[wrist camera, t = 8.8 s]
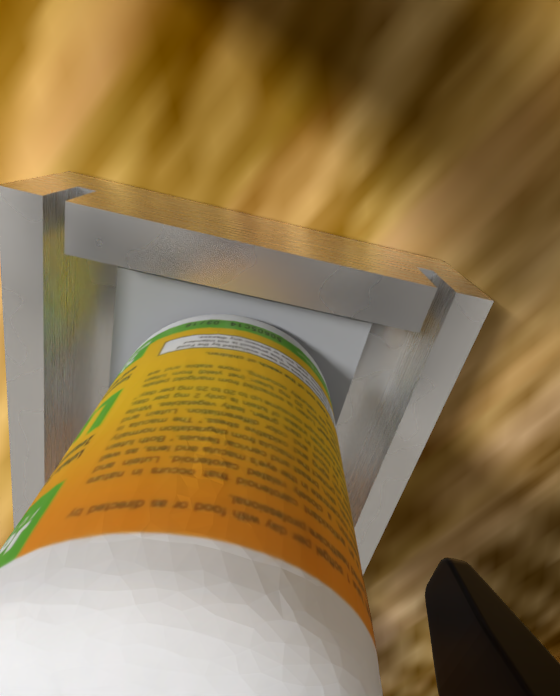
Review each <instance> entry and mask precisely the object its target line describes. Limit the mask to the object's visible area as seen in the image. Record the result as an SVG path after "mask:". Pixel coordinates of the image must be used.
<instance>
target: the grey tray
mask: <svg viewBox="0 0 560 696" xmlns="http://www.w3.org/2000/svg"><path fill="white" fill-rule="evenodd" d="M0 261H1V281H2V300H3V320H4V340H5V360H6V379H7V399H8V419H9V438H10V458H11V478H12V498H13V517H14V529H15V528H16V526H17V525H18V523H19V522H20V520H21V519H22V517H23V516H24V514H25V513H26V511H27V510H28V508H29V507H30V506H31V504H32V503H33V501H34V500H35V498H36V497H37V495H38V494H39V492H40V491H41V489H42V488H43V486H44V485H45V483H46V482H47V480H48V479H49V478H50V476H51V475H52V473H53V472H54V470H55V469H56V467H57V466H58V465H59V463H60V462H61V460H62V458H63V457H64V455H65V454H66V452H67V451H68V449H69V448H70V446H71V445H72V443H73V442H74V440H75V439H76V437H77V436H78V434H79V433H80V431H81V430H82V428H83V427H84V425H85V424H86V423H87V421H88V420H89V418H90V417H91V415H92V414H93V412H94V411H95V409H96V408H97V406H98V405H99V403H100V402H101V400H102V399H103V397H104V395H105V394H106V393H107V391H108V390H109V388H110V386H111V385H112V383H113V382H114V380H115V379H116V377H117V376H118V374H119V373H120V371H121V370H122V368H123V367H124V365H125V364H126V362H127V361H128V360H129V358H130V357H131V356H132V355H133V353H134V352H135V351H136V350H137V349H138V348H139V346H140V345H141V344H142V343H144V342H145V341H146V340H147V339H148V338H149V337H150V336H152V335H153V334H154V333H156V332H158V331H159V330H161V329H162V328H164V327H166V326H168V325H170V324H172V323H175V322H177V321H180V320H183V319H187V318H191V317H196V316H202V315H210V314H229V315H237V316H244V317H248V318H252V319H255V320H258V321H261V322H264V323H266V324H269V325H271V326H273V327H275V328H277V329H279V330H281V331H282V332H284V333H286V334H287V335H289V336H290V337H292V338H293V339H294V340H296V341H297V342H298V343H299V344H300V345H301V346H302V347H303V348H304V349H305V350H306V351H307V352H308V353H309V354H310V356H311V357H312V358H313V360H314V361H315V362H316V364H317V366H318V367H319V369H320V371H321V373H322V375H323V377H324V379H325V382H326V385H327V388H328V391H329V395H330V399H331V403H332V408H333V413H334V419H335V424H336V430H337V437H338V442H339V448H340V453H341V458H342V464H343V470H344V475H345V481H346V486H347V491H348V497H349V503H350V508H351V514H352V519H353V525H354V530H355V535H356V541H357V546H358V552H359V557H360V563H361V569H362V574H364V572H365V570H366V568H367V566H368V564H369V562H370V560H371V558H372V555H373V553H374V551H375V549H376V547H377V545H378V543H379V541H380V539H381V537H382V535H383V532H384V530H385V528H386V526H387V524H388V522H389V520H390V518H391V516H392V514H393V511H394V509H395V507H396V505H397V503H398V501H399V499H400V497H401V495H402V493H403V491H404V488H405V486H406V484H407V482H408V480H409V478H410V476H411V474H412V472H413V470H414V468H415V465H416V463H417V461H418V459H419V457H420V455H421V453H422V451H423V449H424V447H425V444H426V442H427V440H428V438H429V436H430V434H431V432H432V430H433V428H434V426H435V424H436V421H437V419H438V417H439V415H440V413H441V411H442V409H443V407H444V405H445V403H446V401H447V398H448V396H449V394H450V392H451V390H452V388H453V386H454V384H455V382H456V380H457V377H458V375H459V373H460V371H461V369H462V367H463V365H464V363H465V361H466V359H467V357H468V354H469V352H470V350H471V348H472V346H473V344H474V342H475V340H476V338H477V336H478V334H479V331H480V329H481V327H482V325H483V323H484V321H485V319H486V317H487V315H488V313H489V310H490V308H491V306H492V304H493V302H494V301H493V300H492V299H491V298H489V297H488V296H487V295H486V294H484V293H483V292H482V291H481V290H479V289H478V288H477V287H476V286H474V285H473V284H472V283H471V282H469V281H468V280H467V279H466V278H464V277H463V276H462V275H461V274H459V273H458V272H457V271H456V270H454V269H453V268H452V267H451V266H450V265H448V264H447V263H446V262H445V261H441V260H437V259H433V258H428V257H424V256H420V255H416V254H412V253H408V252H403V251H399V250H395V249H391V248H387V247H383V246H378V245H374V244H370V243H366V242H362V241H358V240H353V239H349V238H345V237H341V236H337V235H333V234H329V233H324V232H320V231H316V230H312V229H308V228H304V227H299V226H295V225H291V224H287V223H283V222H279V221H274V220H270V219H266V218H262V217H258V216H254V215H249V214H245V213H241V212H237V211H233V210H229V209H224V208H220V207H216V206H212V205H208V204H204V203H199V202H195V201H191V200H187V199H183V198H179V197H174V196H170V195H166V194H162V193H158V192H154V191H149V190H145V189H141V188H137V187H133V186H129V185H124V184H120V183H116V182H112V181H108V180H104V179H99V178H95V177H91V176H87V175H83V174H79V173H75V172H70V171H69V172H64V173H58V174H53V175H47V176H42V177H37V178H31V179H26V180H21V181H15V182H10V183H5V184H0Z"/></svg>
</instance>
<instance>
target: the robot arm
mask: <svg viewBox="0 0 560 696" xmlns="http://www.w3.org/2000/svg"><path fill="white" fill-rule="evenodd" d="M425 599H426V607H427V615H428V622H429V630H430V637H431V644H432V652H433V659H434V667H435V674H436V681H437V687H438V693H439V696H560V663H559V662H558V661H557V660H556V659H555V658H554V657H553V656H552V655H551V654H550V652H549V651H548V650H547V649H546V648H545V647H544V646H543V645H542V644H541V643H540V641H539V640H538V639H537V638H536V637H535V636H534V635H533V634H532V633H531V632H530V630H529V629H528V628H527V627H526V626H525V625H524V624H523V623H522V622H521V621H520V619H519V618H518V617H517V616H516V615H515V614H514V613H513V612H512V611H511V610H510V608H509V607H508V606H507V605H506V604H505V603H504V602H503V601H502V600H501V599H500V597H499V596H498V595H497V594H496V593H495V592H494V591H493V590H492V589H491V588H490V586H489V585H488V584H487V583H486V582H485V581H484V580H483V579H482V578H481V577H480V575H479V574H478V573H477V572H476V571H475V570H474V569H473V568H472V567H471V566H470V565H469V564H468V563H467V562H465V561H462V560H457V559H451V558H444V559H443V560H441V562H440V563H439V565H438V567H437V568H436V570H435V572H434V573H433V575H432V577H431V579H430V580H429V582H428V584H427V587H426V592H425Z"/></svg>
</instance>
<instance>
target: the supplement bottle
mask: <svg viewBox="0 0 560 696" xmlns="http://www.w3.org/2000/svg"><path fill="white" fill-rule="evenodd" d="M0 696H383V692H382V686H381V680H380V674H379V665H378V657H377V651H376V645H375V639H374V633H373V627H372V621H371V615H370V610H369V605H368V600H367V595H366V590H365V585H364V580H363V574H362V569H361V563H360V557H359V552H358V546H357V541H356V535H355V530H354V525H353V519H352V514H351V508H350V503H349V497H348V491H347V486H346V481H345V475H344V470H343V464H342V458H341V453H340V448H339V442H338V437H337V430H336V424H335V419H334V413H333V408H332V403H331V399H330V395H329V391H328V388H327V385H326V382H325V379H324V377H323V375H322V373H321V371H320V369H319V367H318V366H317V364H316V362H315V361H314V360H313V358H312V357H311V356H310V354H309V353H308V352H307V351H306V350H305V349H304V348H303V347H302V346H301V345H300V344H299V343H298V342H297V341H296V340H294V339H293V338H292V337H290V336H289V335H287V334H286V333H284V332H282V331H281V330H279V329H277V328H275V327H273V326H271V325H269V324H266V323H264V322H261V321H258V320H255V319H252V318H248V317H244V316H237V315H229V314H210V315H202V316H196V317H191V318H187V319H183V320H180V321H177V322H175V323H172V324H170V325H168V326H166V327H164V328H162V329H161V330H159V331H158V332H156V333H154V334H153V335H152V336H150V337H149V338H148V339H147V340H146V341H145V342H144V343H142V344H141V345H140V346H139V348H138V349H137V350H136V351H135V352H134V353H133V355H132V356H131V357H130V358H129V360H128V361H127V362H126V364H125V365H124V367H123V368H122V370H121V371H120V373H119V374H118V376H117V377H116V379H115V380H114V382H113V383H112V385H111V386H110V388H109V390H108V391H107V393H106V394H105V395H104V397H103V399H102V400H101V402H100V403H99V405H98V406H97V408H96V409H95V411H94V412H93V414H92V415H91V417H90V418H89V420H88V421H87V423H86V424H85V425H84V427H83V428H82V430H81V431H80V433H79V434H78V436H77V437H76V439H75V440H74V442H73V443H72V445H71V446H70V448H69V449H68V451H67V452H66V454H65V455H64V457H63V458H62V460H61V462H60V463H59V465H58V466H57V467H56V469H55V470H54V472H53V473H52V475H51V476H50V478H49V479H48V480H47V482H46V483H45V485H44V486H43V488H42V489H41V491H40V492H39V494H38V495H37V497H36V498H35V500H34V501H33V503H32V504H31V506H30V507H29V508H28V510H27V511H26V513H25V514H24V516H23V517H22V519H21V520H20V522H19V523H18V525H17V526H16V528H15V529H14V531H13V532H12V533H11V535H10V536H9V538H8V539H7V541H6V542H5V544H4V545H3V547H2V548H1V550H0Z"/></svg>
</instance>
